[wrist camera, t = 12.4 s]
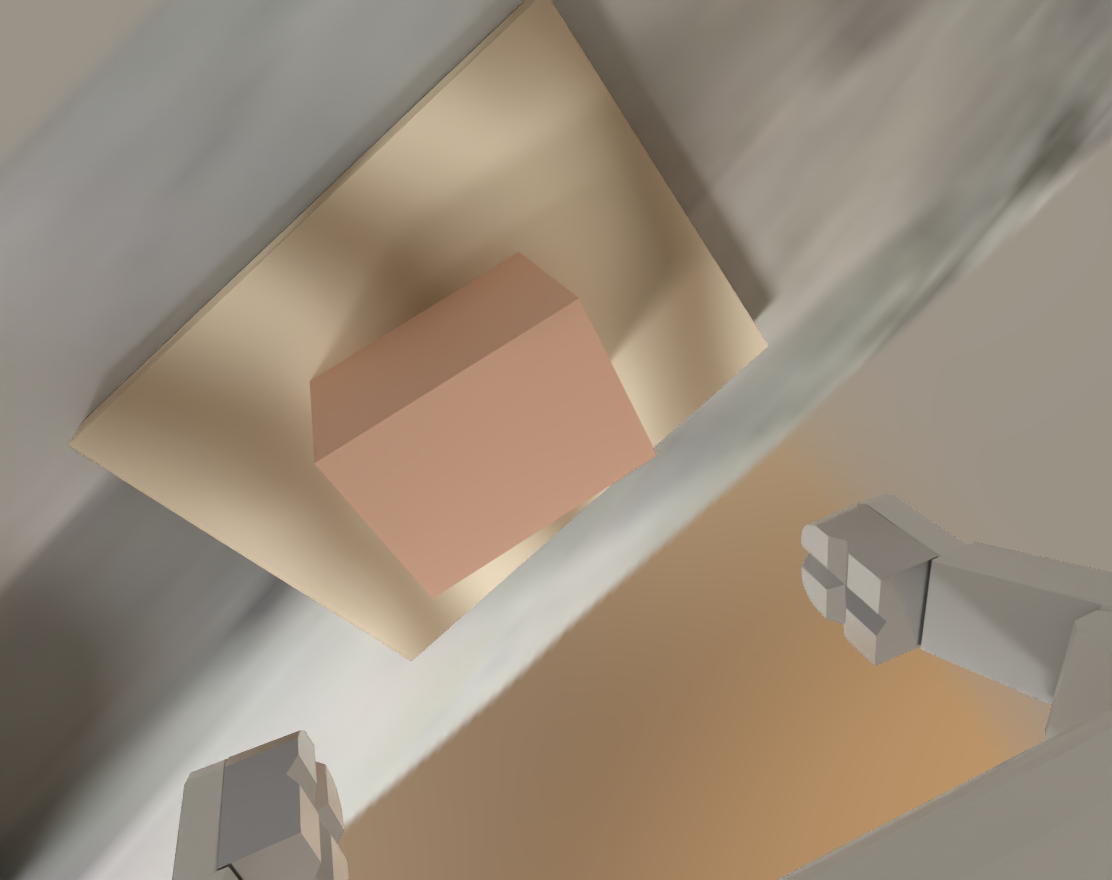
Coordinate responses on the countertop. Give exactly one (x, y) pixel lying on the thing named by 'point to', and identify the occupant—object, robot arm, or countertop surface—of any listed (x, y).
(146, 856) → the countertop surface
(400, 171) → the pin plate
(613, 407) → the block
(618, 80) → the countertop surface
